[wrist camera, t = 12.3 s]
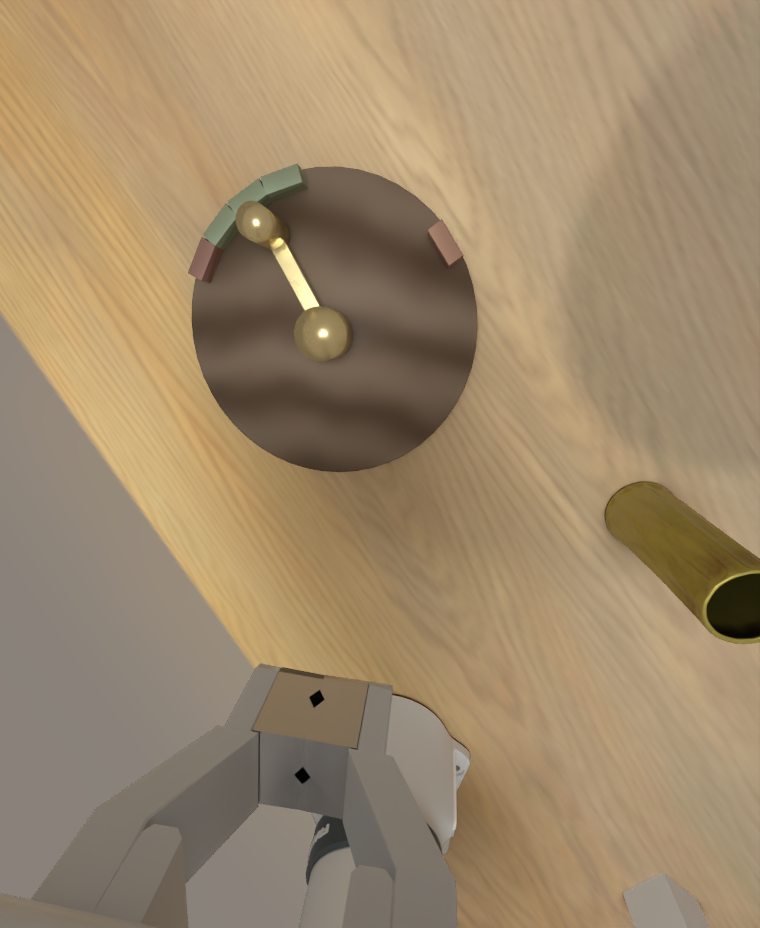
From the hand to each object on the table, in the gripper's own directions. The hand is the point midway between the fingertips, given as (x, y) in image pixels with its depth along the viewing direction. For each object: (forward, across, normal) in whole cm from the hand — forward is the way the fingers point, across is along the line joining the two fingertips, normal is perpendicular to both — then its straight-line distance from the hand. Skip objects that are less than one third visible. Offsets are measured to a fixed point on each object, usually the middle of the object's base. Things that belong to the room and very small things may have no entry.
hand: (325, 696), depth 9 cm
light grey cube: (+31, -37, +55) cm, 73 cm away
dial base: (+31, +7, -7) cm, 33 cm away
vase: (+31, -22, +6) cm, 39 cm away
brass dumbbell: (+29, +9, -10) cm, 32 cm away
